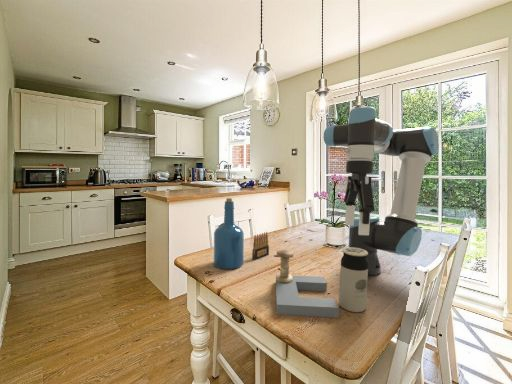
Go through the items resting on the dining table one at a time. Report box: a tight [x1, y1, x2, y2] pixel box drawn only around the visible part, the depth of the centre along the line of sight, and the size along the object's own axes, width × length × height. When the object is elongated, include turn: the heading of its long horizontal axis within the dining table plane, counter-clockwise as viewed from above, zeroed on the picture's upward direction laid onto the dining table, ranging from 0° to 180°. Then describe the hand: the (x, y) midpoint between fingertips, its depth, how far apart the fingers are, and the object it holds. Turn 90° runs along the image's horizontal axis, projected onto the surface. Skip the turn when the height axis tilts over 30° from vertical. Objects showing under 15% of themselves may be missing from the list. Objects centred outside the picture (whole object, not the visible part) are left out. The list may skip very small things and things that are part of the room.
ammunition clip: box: [251, 231, 270, 261], centre depth 126 cm, size 11×2×12 cm, turn 139°
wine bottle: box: [213, 197, 245, 270], centre depth 114 cm, size 14×13×30 cm
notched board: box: [275, 274, 340, 319], centre depth 86 cm, size 18×22×3 cm
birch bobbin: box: [275, 249, 294, 283], centre depth 93 cm, size 6×6×10 cm
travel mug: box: [338, 246, 369, 313], centre depth 81 cm, size 8×8×18 cm
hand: (355, 229), depth 79 cm, fingers open, 13 cm apart
